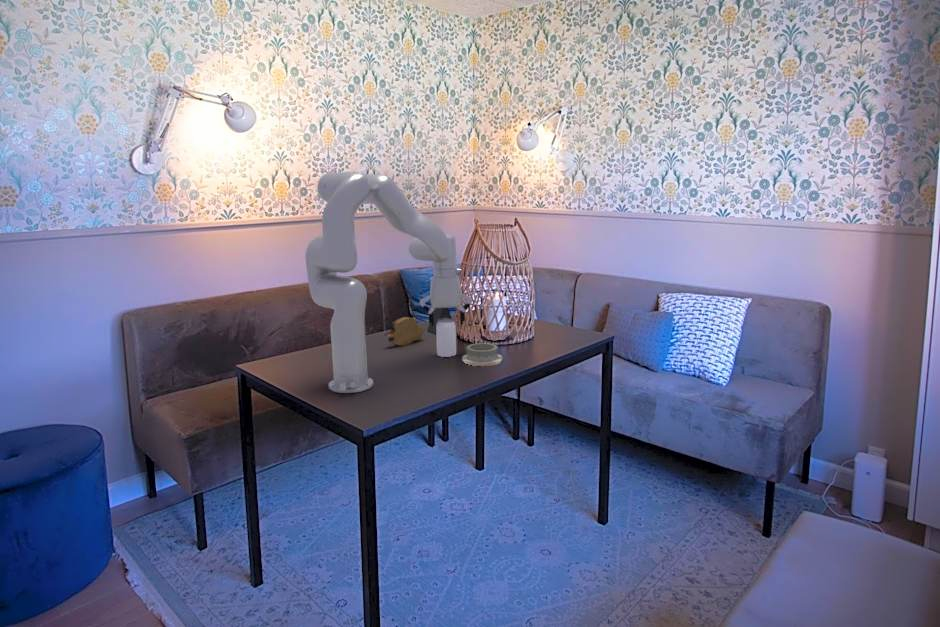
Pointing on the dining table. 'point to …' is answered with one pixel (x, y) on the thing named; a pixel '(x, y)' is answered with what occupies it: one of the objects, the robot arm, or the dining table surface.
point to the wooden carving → (404, 331)
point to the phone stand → (438, 317)
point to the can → (446, 337)
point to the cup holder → (482, 355)
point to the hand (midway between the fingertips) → (447, 324)
